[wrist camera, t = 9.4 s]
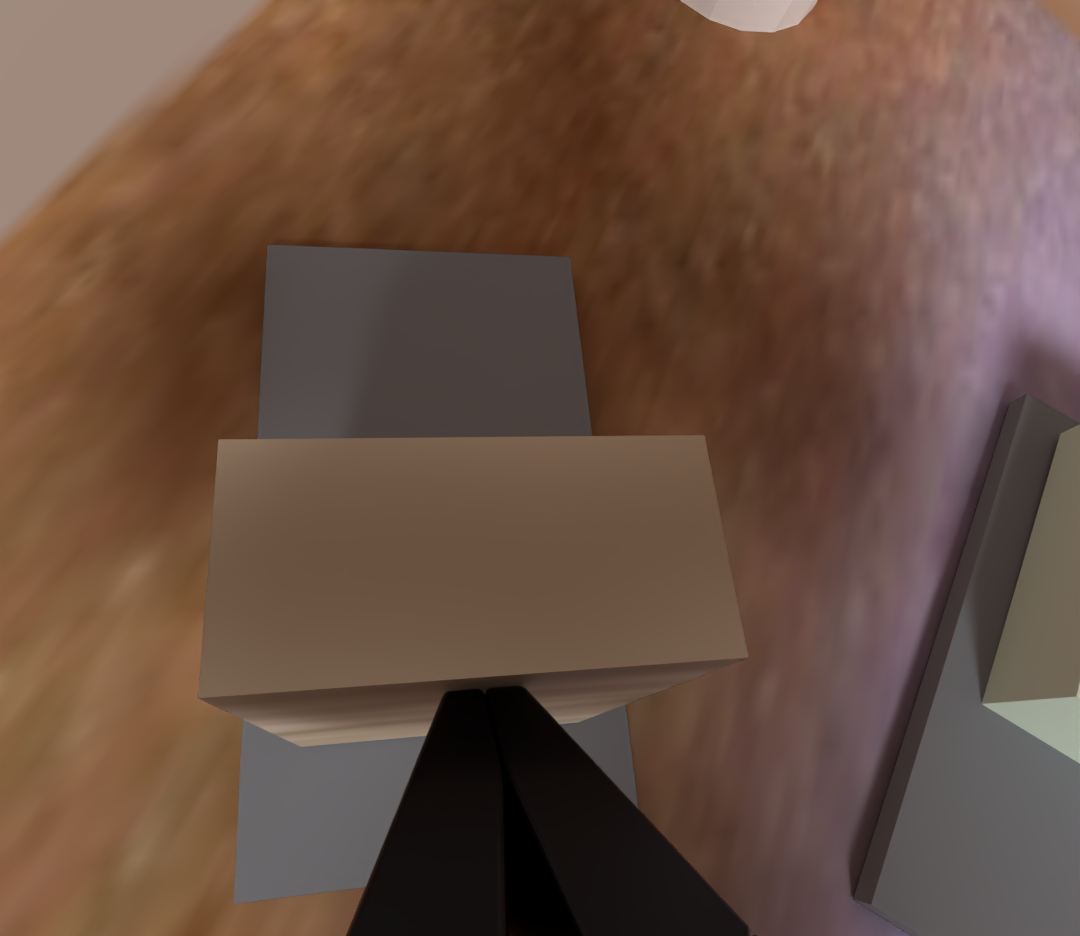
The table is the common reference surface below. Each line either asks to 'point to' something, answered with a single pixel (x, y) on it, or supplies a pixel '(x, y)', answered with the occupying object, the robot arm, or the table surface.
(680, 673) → the cream tile
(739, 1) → the white cup
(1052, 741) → the sage tile
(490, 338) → the pair of gray tiles
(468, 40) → the table surface
